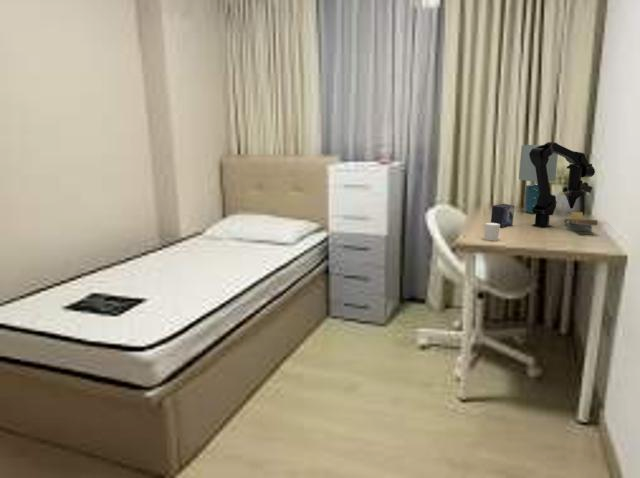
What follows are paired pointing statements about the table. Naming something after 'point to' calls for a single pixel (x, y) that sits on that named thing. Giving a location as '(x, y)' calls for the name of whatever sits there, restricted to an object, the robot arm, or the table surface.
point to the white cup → (491, 231)
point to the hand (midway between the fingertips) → (571, 208)
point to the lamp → (534, 175)
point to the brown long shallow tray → (581, 222)
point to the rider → (575, 215)
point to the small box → (502, 214)
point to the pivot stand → (579, 228)
